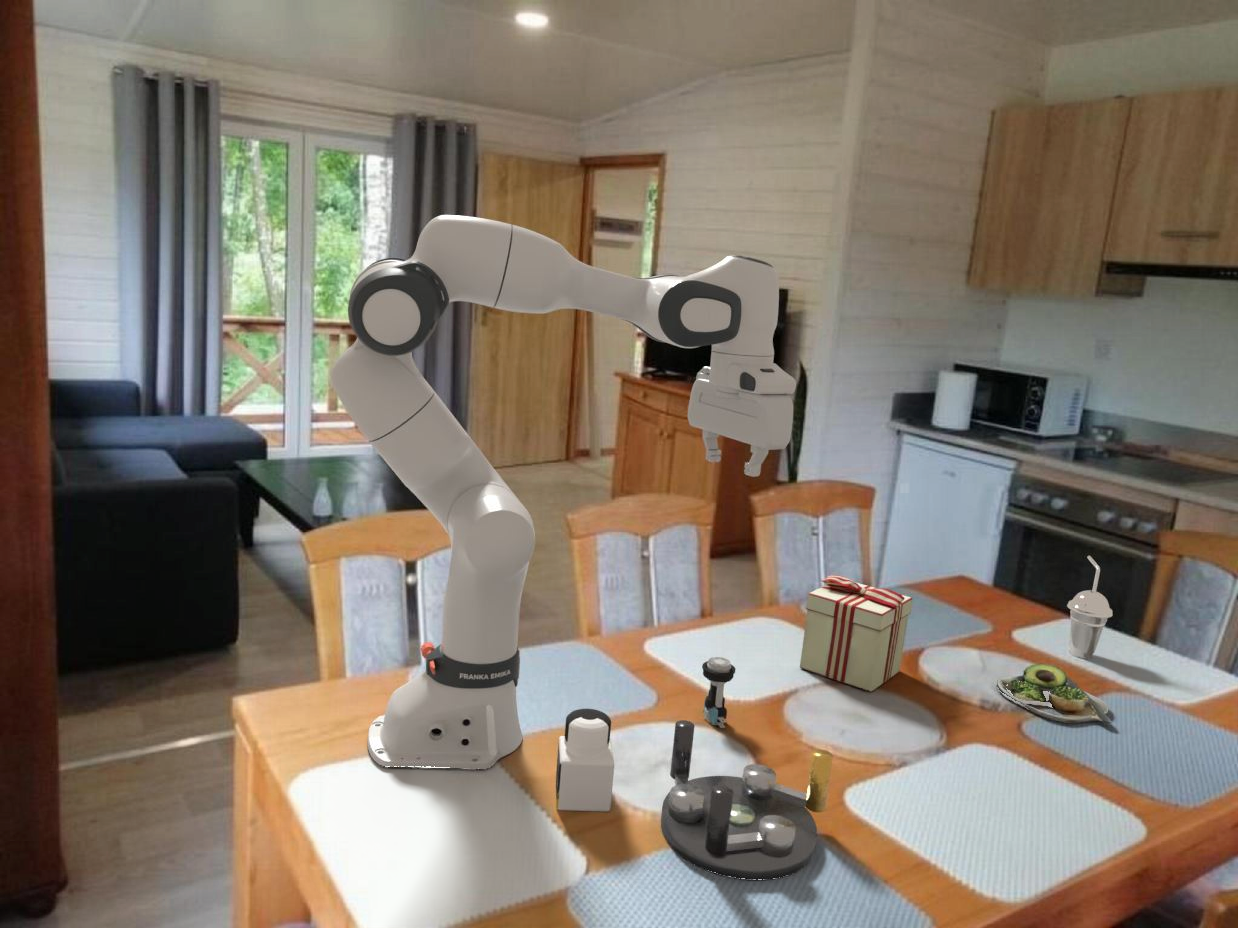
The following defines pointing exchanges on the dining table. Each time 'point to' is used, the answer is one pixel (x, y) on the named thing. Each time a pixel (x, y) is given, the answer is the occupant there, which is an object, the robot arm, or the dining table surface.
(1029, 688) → the salad plate
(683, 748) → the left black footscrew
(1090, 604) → the cup with straw
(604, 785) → the white and black device
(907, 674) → the dining table surface
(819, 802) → the amber footscrew
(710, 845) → the front black footscrew
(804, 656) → the gift box
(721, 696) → the push button
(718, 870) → the levelling plate
